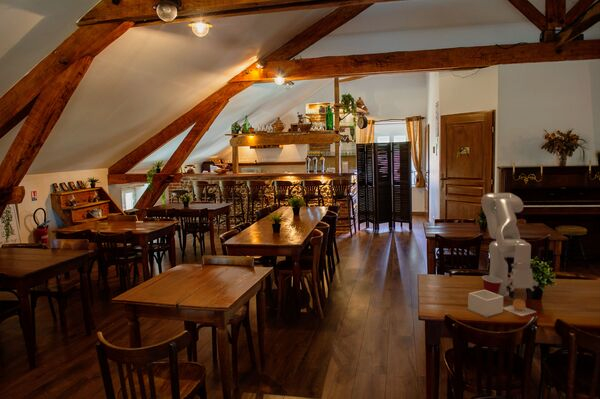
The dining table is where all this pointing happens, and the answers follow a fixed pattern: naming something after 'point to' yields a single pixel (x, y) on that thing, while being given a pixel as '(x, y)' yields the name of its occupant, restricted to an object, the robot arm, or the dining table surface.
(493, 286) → the plastic cup
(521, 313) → the mat
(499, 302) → the white open box
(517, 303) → the ball
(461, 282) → the dining table surface
